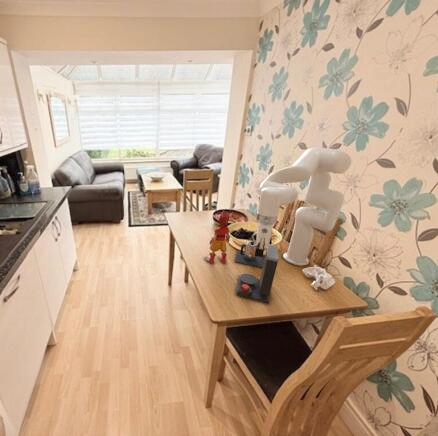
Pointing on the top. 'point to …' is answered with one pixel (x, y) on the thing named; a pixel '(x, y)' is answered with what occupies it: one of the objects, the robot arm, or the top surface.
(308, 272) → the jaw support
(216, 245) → the toy
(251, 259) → the kettle
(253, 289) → the coffee maker
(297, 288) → the top surface
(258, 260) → the plate
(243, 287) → the power button
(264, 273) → the brewer column
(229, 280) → the top surface
